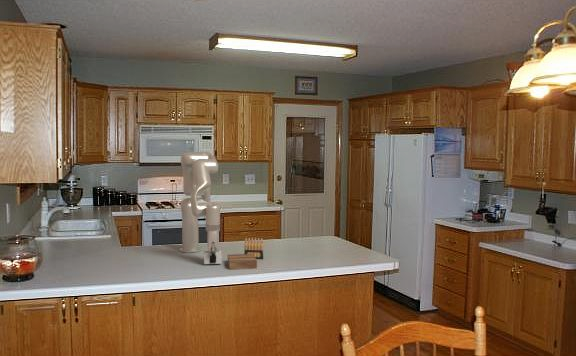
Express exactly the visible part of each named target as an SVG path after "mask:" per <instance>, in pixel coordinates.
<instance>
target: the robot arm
mask: <svg viewBox="0 0 576 356" xmlns="http://www.w3.org/2000/svg"><path fill="white" fill-rule="evenodd" d="M180 164H181V168H182V172H183V178H182V180H183V181H182V184H183V187H182V188H183V189H182V191H183V194H184V195H185V196H188V197H187V198H186V197H185V198H183V199H181V201H180V212H181V221H182V222H181V224H182V226H181V228H182V229H181V230H182V231H181V233H182V234H181V239H182V240H181V241H182V245H181V246H182V247H180V248H179V252H181V253H190V254H191V253H198V252H200V251H202V247H200V245H199V240H200V239H199V220H198V217H205V232H207V234H206V235H207V239H206V240H207V241H206V244H207V245H206V248H207V251H210V263H216V250H218V239H219V237H218V233H219V232H220V231H221V207H220V205H219V204H217V203H216V202H212V201H211V186H212V181H211V180H212V179H211V175H210V174H217V173H218V172H219V163H218V161H217V159H216V157H215V156H214V155H213V154H212V153H211V152H210V151H209V152H208V151H187V152H183V153H182V154H181V156H180ZM199 196H201V197H199ZM211 251H212V252H211Z"/></svg>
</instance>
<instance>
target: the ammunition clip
mask: <svg viewBox="0 0 576 356" xmlns="http://www.w3.org/2000/svg"><path fill="white" fill-rule="evenodd" d="M247 238H248V239H247ZM263 242H264V241H263V238H262V237H261V238H259V237H258V238H256V237H255V238H253V237H251V238H250V237H245V239H244V253H243V254H254V256H255V258H256V260H264V243H263Z"/></svg>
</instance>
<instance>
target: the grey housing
mask: <svg viewBox="0 0 576 356" xmlns="http://www.w3.org/2000/svg"><path fill="white" fill-rule="evenodd" d="M211 252H212V251H211ZM222 257H223V256H222V250H220V249H217V250H216V263H210V250H203V264H204V265H214V264H215V265H217V264H219V265H220V264H222V261H223V260H222V259H223V258H222Z"/></svg>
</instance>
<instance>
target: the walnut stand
mask: <svg viewBox="0 0 576 356" xmlns="http://www.w3.org/2000/svg"><path fill="white" fill-rule="evenodd" d="M257 260H258V259H256V258H255V256H254V254H244V253H243V254H227V266H228V268H229V269H228V270H251V269H252V270H253V269H254V270H255V269H258V261H257Z"/></svg>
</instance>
